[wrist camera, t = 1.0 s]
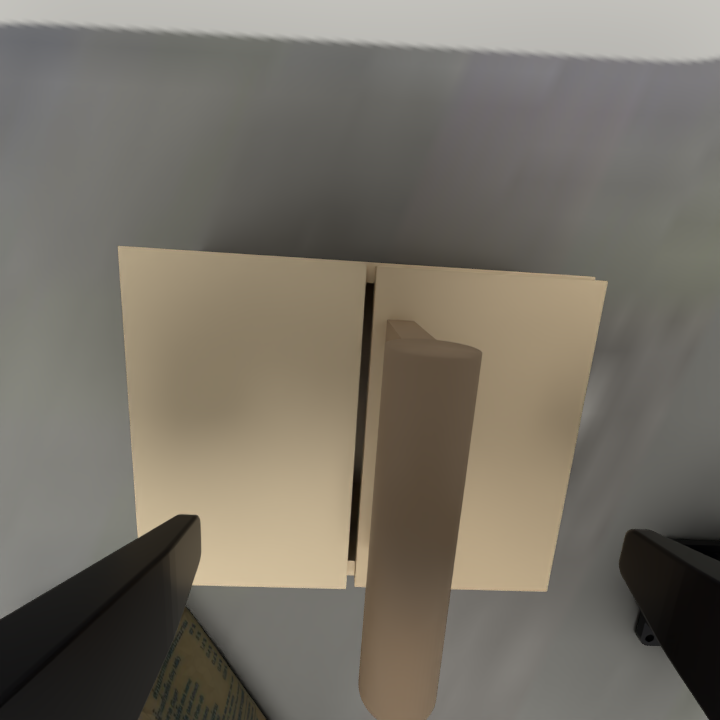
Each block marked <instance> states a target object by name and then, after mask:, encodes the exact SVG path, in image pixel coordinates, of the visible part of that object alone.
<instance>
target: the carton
mask: <svg viewBox="0 0 720 720" xmlns="http://www.w3.org/2000/svg"><path fill="white" fill-rule="evenodd" d="M118 257H119V271H120V286H121V300H122V314H123V329H124V343H125V358H126V372H127V387H128V401H129V416H130V430H131V445H132V459H133V474H134V488H135V503H136V517H137V532H138V538H139V537H141V536H142V535H144V534H146V533H147V532H149V531H151V530H152V529H154V528H156V527H157V526H159V525H161V524H162V523H164V522H166V521H168V520H169V519H171V518H173V517H174V516H176V515H178V514H191V515H198V516H199V518H200V522H201V558H200V562H199V566H198V569H197V572H196V575H195V578H194V581H193V584H192V585H207V586H247V587H287V588H326V589H346V578H347V575H354V570H355V556H356V541H357V527H358V513H359V498H360V484H361V470H362V455H363V441H364V427H365V412H366V398H367V384H368V369H369V355H370V341H371V326H372V312H373V297H374V283H375V269H376V266H381V267H397V268H412V269H428V270H444V271H459V272H475V273H490V274H506V275H521V276H537V277H552V278H568V279H583V280H595V277H589V276H573V275H558V274H542V273H527V272H512V271H496V270H481V269H465V268H450V267H434V266H419V265H403V264H388V263H373V262H359V261H343V260H328V259H312V258H297V257H282V256H266V255H251V254H235V253H220V252H204V251H189V250H173V249H158V248H143V247H127V246H118Z"/></svg>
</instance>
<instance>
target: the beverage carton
mask: <svg viewBox="0 0 720 720" xmlns="http://www.w3.org/2000/svg"><path fill="white" fill-rule="evenodd" d="M138 720H266V718H265V717H264V715H263V714H262V713H261V711H260V710H259V708H258V707H257V705H256V704H255V702H254V701H253V700H252V698H251V697H250V696H249V694H248V693H247V692H246V690H245V689H244V687H243V686H242V684H241V683H240V681H239V680H238V679H237V677H236V676H235V675H234V673H233V672H232V670H231V669H230V668H229V666H228V665H227V663H226V662H225V660H224V659H223V657H222V656H221V655H220V653H219V652H218V650H217V649H216V647H215V646H214V645H213V643H212V642H211V640H210V639H209V637H208V636H207V635H206V634H205V632H204V631H203V630H202V628H201V627H200V625H199V624H198V622H197V621H196V619H195V618H194V617H193V615H192V614H191V613H190V611H189V610H188V609H187V608H186V607H185V608H184V611H183V614H182V617H181V620H180V623H179V626H178V629H177V632H176V634H175V637H174V640H173V642H172V645H171V647H170V649H169V652H168V654H167V656H166V659H165V661H164V663H163V665H162V667H161V670H160V672H159V674H158V676H157V679H156V681H155V683H154V685H153V687H152V690H151V692H150V694H149V696H148V699H147V701H146V703H145V705H144V708H143V710H142V712H141V714H140V716H139V719H138Z"/></svg>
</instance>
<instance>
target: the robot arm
mask: <svg viewBox="0 0 720 720" xmlns="http://www.w3.org/2000/svg"><path fill="white" fill-rule="evenodd" d="M200 558H201V522H200V518H199V516H198V515H191V514H178V515H176V516H174V517H173V518H171V519H169V520H168V521H166V522H164V523H162V524H161V525H159V526H157V527H156V528H154V529H152V530H151V531H149V532H147V533H146V534H144V535H142V536H141V537H139V538H137V539H135V540H134V541H132V542H130V543H129V544H127V545H125V546H124V547H122V548H120V549H119V550H117V551H115V552H113V553H112V554H110V555H108V556H107V557H105V558H103V559H102V560H100V561H98V562H97V563H95V564H93V565H91V566H90V567H88V568H86V569H85V570H83V571H81V572H80V573H78V574H76V575H75V576H73V577H71V578H69V579H68V580H66V581H64V582H63V583H61V584H59V585H58V586H56V587H54V588H53V589H51V590H49V591H47V592H46V593H44V594H42V595H41V596H39V597H37V598H36V599H34V600H32V601H31V602H29V603H27V604H25V605H24V606H22V607H20V608H19V609H17V610H15V611H14V612H12V613H10V614H9V615H7V616H5V617H3V618H2V619H0V720H138V719H139V716H140V714H141V712H142V710H143V708H144V705H145V703H146V701H147V699H148V696H149V694H150V692H151V690H152V687H153V685H154V683H155V681H156V679H157V676H158V674H159V672H160V670H161V667H162V665H163V663H164V661H165V659H166V656H167V654H168V652H169V649H170V647H171V645H172V642H173V640H174V637H175V634H176V632H177V629H178V626H179V623H180V620H181V617H182V614H183V611H184V608H185V605H186V602H187V599H188V596H189V593H190V590H191V587H192V584H193V581H194V578H195V575H196V572H197V569H198V566H199V562H200ZM619 568H620V572H621V575H622V577H623V579H624V580H625V582H626V584H627V586H628V588H629V589H630V591H631V593H632V595H633V597H634V599H635V600H636V602H637V604H638V606H639V608H640V609H641V615H640V619H639V622H638V626H637V630H636V636H637V637H638V639H639V640H640V641H641V642H642V644H644V645H647V646H661V647H662V649H663V650H664V652H665V653H666V655H667V657H668V658H669V660H670V661H671V663H672V664H673V666H674V668H675V669H676V671H677V672H678V674H679V675H680V677H681V678H682V680H683V681H684V683H685V684H686V686H687V687H688V689H689V690H690V692H691V693H692V695H693V696H694V698H695V699H696V701H697V702H698V704H699V705H700V707H701V708H702V710H703V711H704V713H705V714H706V716H707V718H708V719H709V720H720V541H709V540H678V539H669V538H667V537H665V536H662V535H660V534H658V533H656V532H654V531H651V530H647V529H631V530H628V531H627V533H626V535H625V538H624V542H623V547H622V551H621V555H620V560H619Z"/></svg>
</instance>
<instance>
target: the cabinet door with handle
mask: <svg viewBox="0 0 720 720" xmlns="http://www.w3.org/2000/svg"><path fill="white" fill-rule="evenodd" d="M607 283H608V281H599V280H583V279H568V278H552V277H537V276H521V275H506V274H490V273H475V272H459V271H444V270H428V269H412V268H397V267H381V266H376V269H375V283H374V297H373V312H372V326H371V341H370V355H369V369H368V384H367V398H366V412H365V427H364V441H363V455H362V470H361V484H360V498H359V513H358V527H357V541H356V556H355V570H354V583H355V587H366V592H365V605H364V618H363V631H362V644H361V656H360V669H359V692H360V696H361V699H362V701H363V703H364V705H365V707H366V708H367V709H368V711H369V712H370V713H371V714H372V715H373V716H374V717H375V718H376V719H378V720H426V719H427V718H428V717H429V715H430V714H431V712H432V711H433V709H434V706H435V703H436V697H437V689H438V682H439V674H440V667H441V659H442V652H443V644H444V637H445V629H446V622H447V615H448V607H449V600H450V592H451V589H463V590H503V591H542V592H547V588H548V583H549V578H550V573H551V568H552V562H553V557H554V552H555V547H556V542H557V537H558V532H559V527H560V522H561V517H562V512H563V507H564V502H565V496H566V491H567V486H568V481H569V476H570V471H571V466H572V461H573V456H574V451H575V446H576V441H577V436H578V430H579V425H580V420H581V415H582V410H583V405H584V400H585V395H586V390H587V385H588V380H589V375H590V370H591V364H592V359H593V354H594V349H595V344H596V339H597V334H598V329H599V324H600V319H601V314H602V309H603V304H604V298H605V293H606V288H607Z"/></svg>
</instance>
